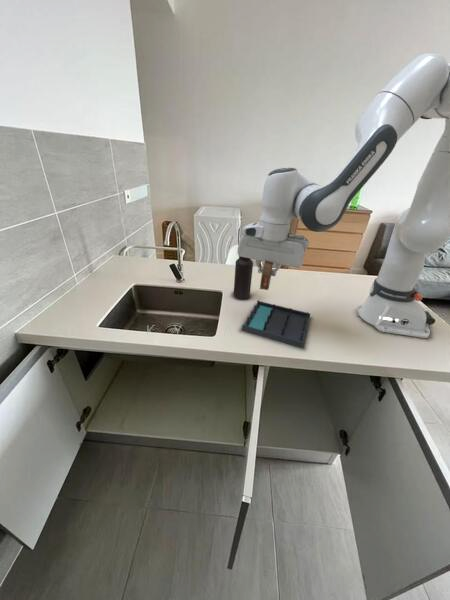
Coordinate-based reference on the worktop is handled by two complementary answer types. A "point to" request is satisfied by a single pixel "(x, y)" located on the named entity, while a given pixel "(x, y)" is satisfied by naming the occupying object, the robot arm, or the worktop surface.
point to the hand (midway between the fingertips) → (266, 274)
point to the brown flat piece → (266, 276)
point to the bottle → (243, 277)
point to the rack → (278, 323)
